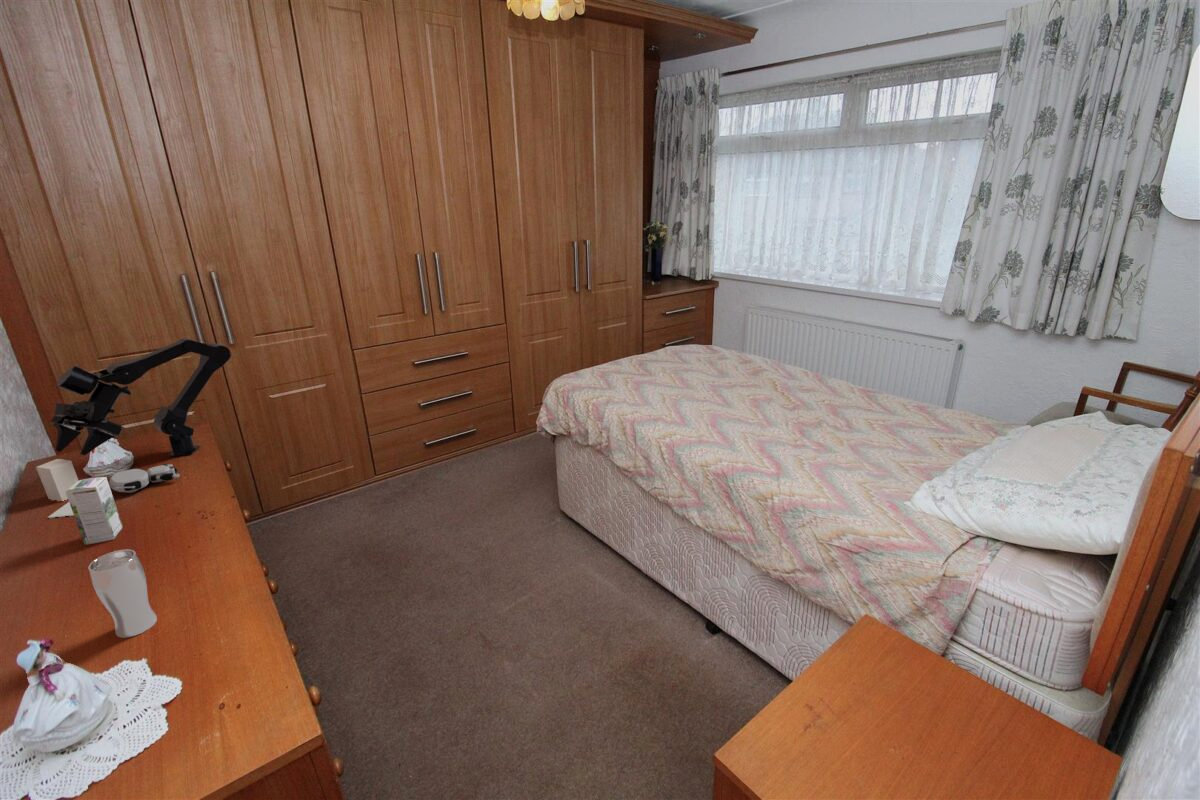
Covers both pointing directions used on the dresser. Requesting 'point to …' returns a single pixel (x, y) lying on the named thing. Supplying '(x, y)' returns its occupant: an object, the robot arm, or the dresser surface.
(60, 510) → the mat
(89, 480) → the syrup box
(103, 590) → the beer glass
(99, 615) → the dresser surface
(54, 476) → the cream block
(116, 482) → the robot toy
